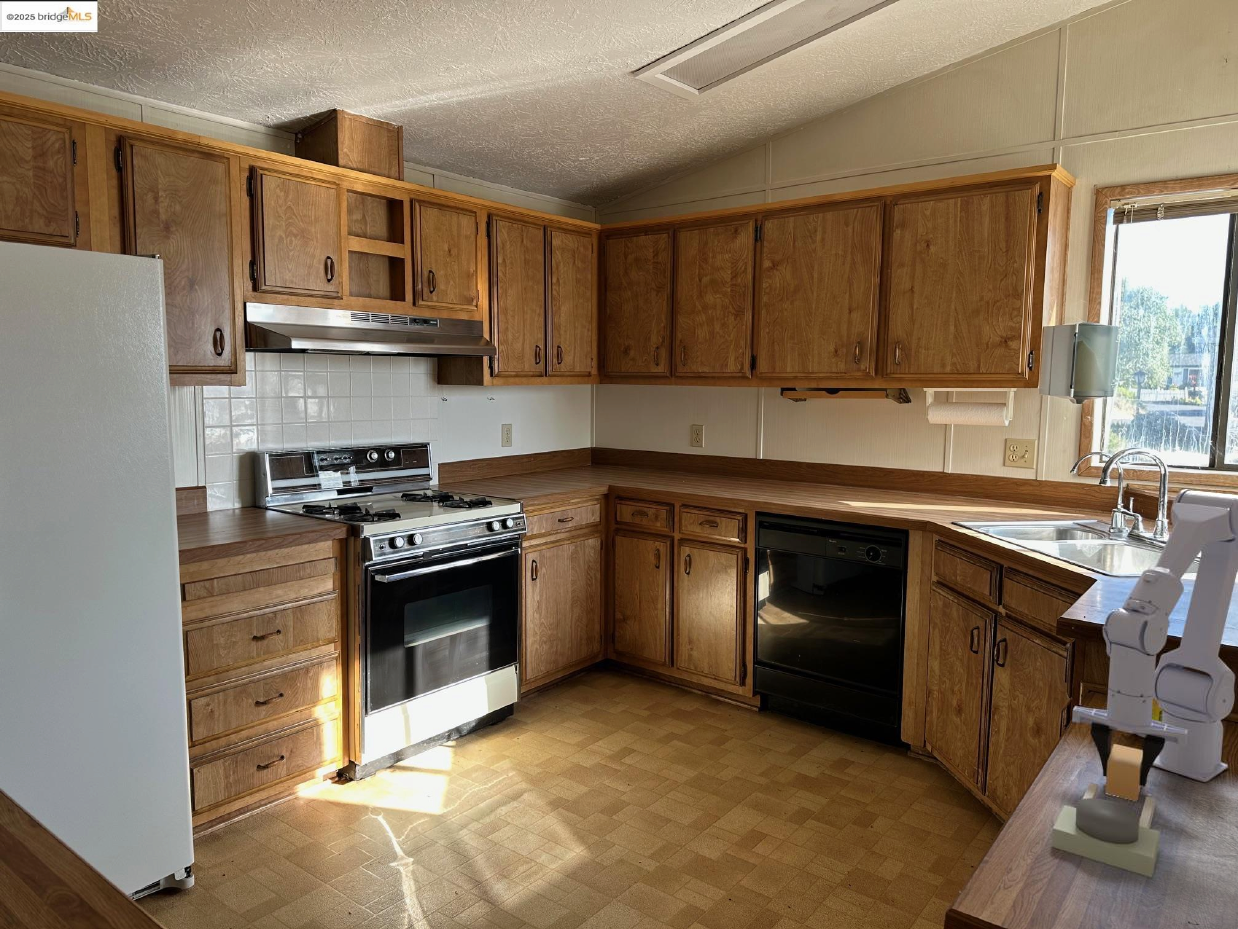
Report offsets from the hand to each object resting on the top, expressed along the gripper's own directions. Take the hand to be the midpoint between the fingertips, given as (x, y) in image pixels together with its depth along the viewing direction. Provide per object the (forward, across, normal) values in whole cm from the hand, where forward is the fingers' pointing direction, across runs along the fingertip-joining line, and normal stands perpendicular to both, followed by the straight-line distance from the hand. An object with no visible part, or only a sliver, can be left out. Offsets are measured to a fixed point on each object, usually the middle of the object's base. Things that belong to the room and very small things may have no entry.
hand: (1124, 779), depth 125 cm
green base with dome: (+1, 0, -16) cm, 16 cm away
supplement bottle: (+2, +1, +27) cm, 27 cm away
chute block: (+1, 0, 0) cm, 1 cm away
